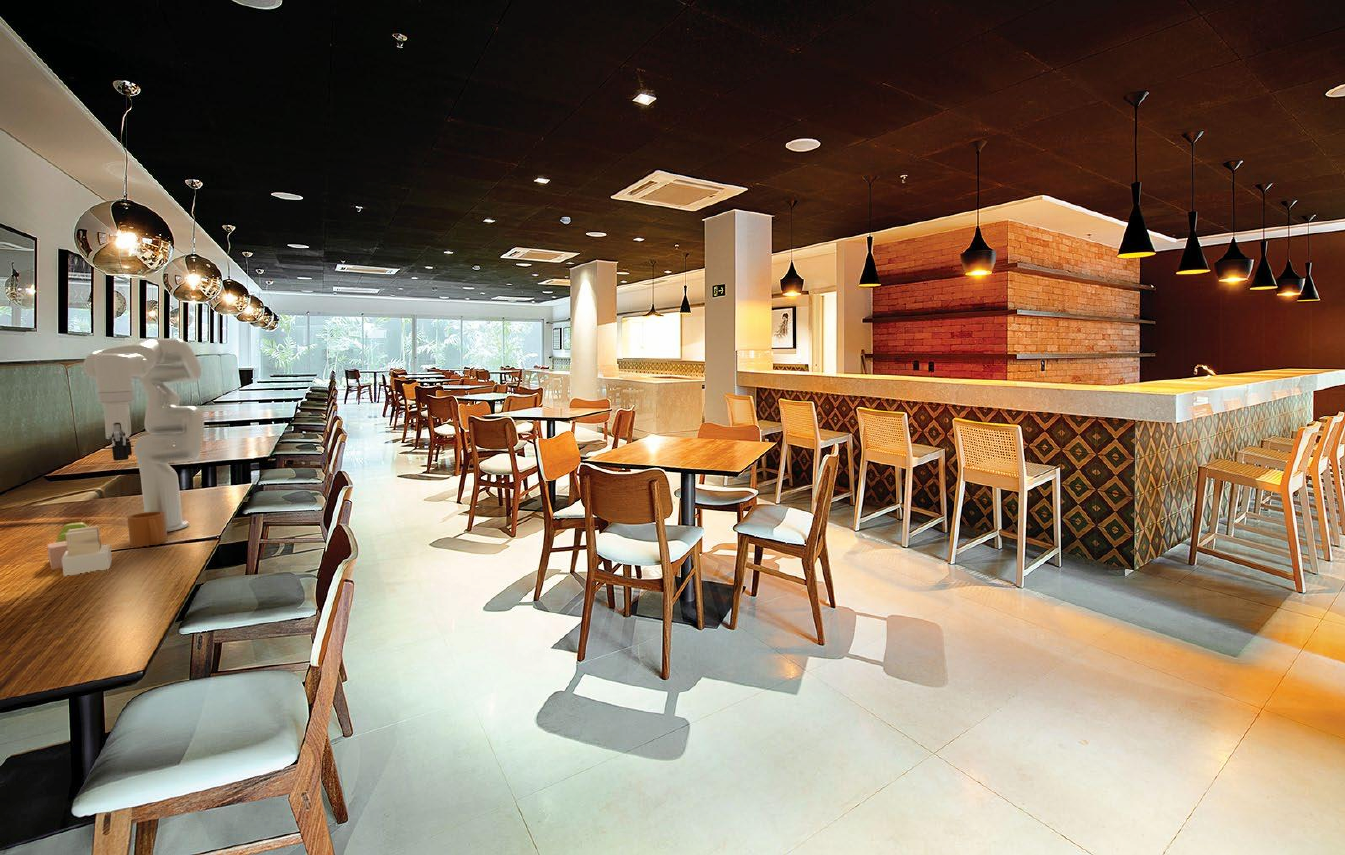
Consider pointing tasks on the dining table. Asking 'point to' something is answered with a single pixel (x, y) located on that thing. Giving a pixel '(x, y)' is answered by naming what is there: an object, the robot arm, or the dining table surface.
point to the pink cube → (56, 554)
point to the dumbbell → (65, 529)
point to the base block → (87, 561)
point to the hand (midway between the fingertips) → (123, 457)
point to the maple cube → (83, 541)
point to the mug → (147, 529)
